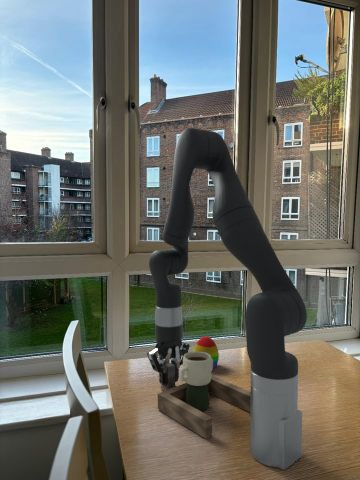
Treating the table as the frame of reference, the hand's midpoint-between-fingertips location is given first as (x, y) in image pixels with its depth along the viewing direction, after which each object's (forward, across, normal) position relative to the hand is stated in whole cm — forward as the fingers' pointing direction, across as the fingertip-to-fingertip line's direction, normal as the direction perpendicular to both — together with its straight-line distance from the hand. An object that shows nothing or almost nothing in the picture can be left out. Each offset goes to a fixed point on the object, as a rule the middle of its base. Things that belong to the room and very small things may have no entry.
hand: (169, 382), depth 107 cm
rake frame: (+2, 0, -12) cm, 12 cm away
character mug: (+2, 0, -12) cm, 12 cm away
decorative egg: (+2, +19, +5) cm, 20 cm away
